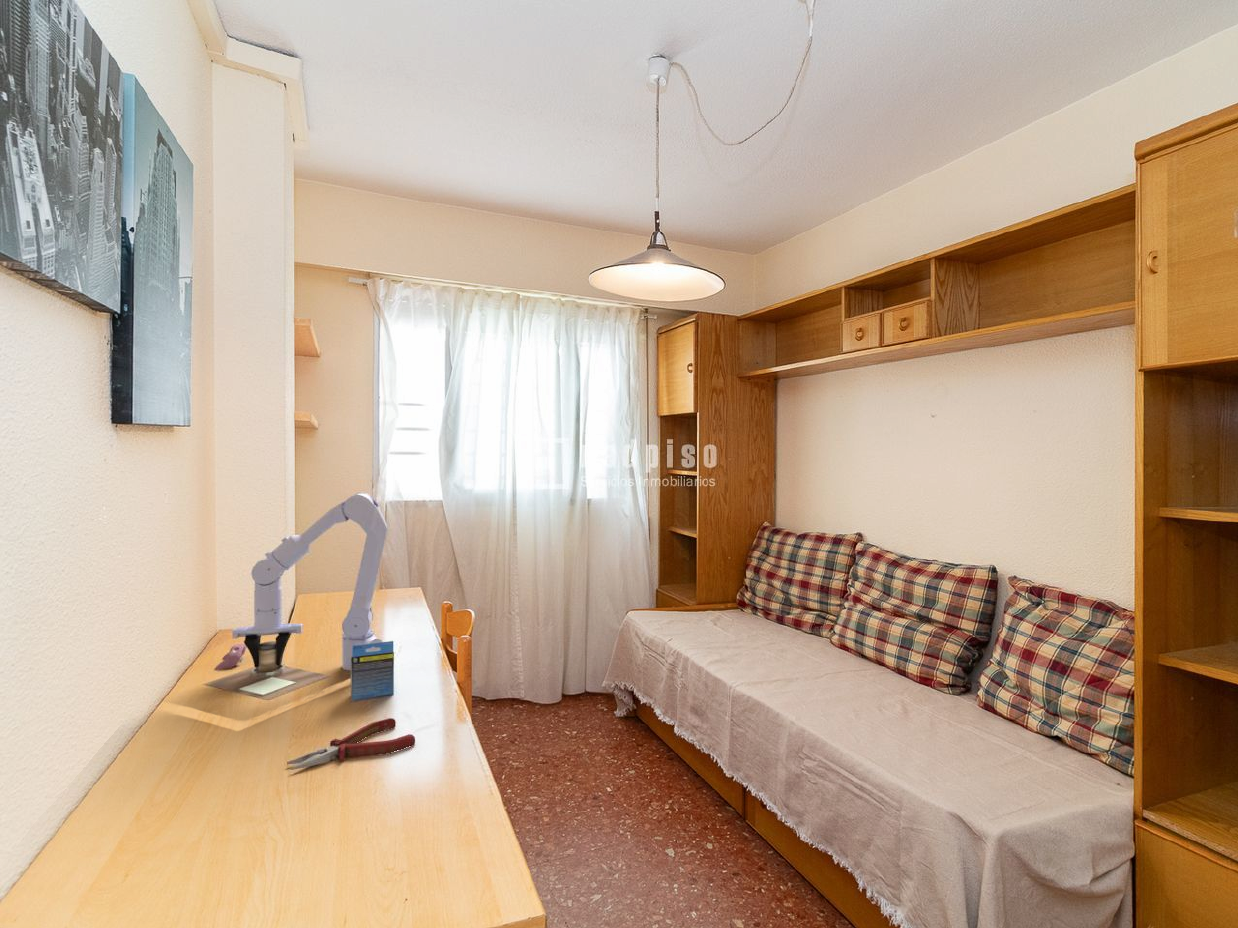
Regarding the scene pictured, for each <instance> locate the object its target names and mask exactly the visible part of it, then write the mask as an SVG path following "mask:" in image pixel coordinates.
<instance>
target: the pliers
mask: <svg viewBox="0 0 1238 928" xmlns="http://www.w3.org/2000/svg"><path fill="white" fill-rule="evenodd" d="M396 723H397V722H396V720H395V719H394V718H392V717H391V718H390V717H388V718H385V719H382V720H381V719H380V720H377V721H374V722H370V723H369V724H366V725H365V726H362V727H360V728H359V729H357V730H356V731H354V732H352V733H351V734H348V735H347V736H345V737H343V738H342V739H340V738H334V739H332V740H331V741H329V742H330V743H329V747H327V746H325V747H321V748H318V749H315V750H313V751H311V752H309V753H306V754H303V755H301V756H299V757H296V758H295V759H292V760H289V761H287V763H286V765H294V766H292V767H291V768H290V770H291V771H293V770H299V769H303V768H307V767H309V768H310V767H313V766H319V765H323V764H326V763H329V762H331V760H336V759H338V760H339V763H341V762H342V763H343V762H344V761H345V760H346V759H348V758H350V759H351V758H360V757H361V756H362V757H369V756H371V755H373V756H380V755H379V754H383V755H387V754H386V753H389V754H392V753H391V752H394V751H397V750H401V749H404V748H406V747H409V746H412V745H414V746H415V743H416V738H415V736H414V735H413V734H410V733H409V734H406V735H402V736H400V737H397V738H394V739H389V740H382V741H368V742H362V741H363V740H362V739H364V738H365V737H367V738H369V737H371V736H373V735H376V734H378V733H377V732H379V733H382V732H385V731H384V730H386V731H389V730H392V729H391V728H393V729H395V728H396V725H397V724H396ZM394 727H395V728H394ZM388 729H389V730H388ZM381 731H382V732H381ZM375 733H376V734H375ZM372 734H373V735H372ZM368 736H369V737H368ZM365 739H366V738H365ZM365 739H364V740H365ZM361 740H362V741H361ZM359 741H360V742H359ZM357 742H359V743H357ZM412 747H413V746H412ZM409 748H410V747H409ZM406 749H407V748H406ZM404 750H405V749H404ZM401 751H402V750H401ZM394 753H395V752H394Z"/></svg>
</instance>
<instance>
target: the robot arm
mask: <svg viewBox="0 0 1238 928" xmlns="http://www.w3.org/2000/svg"><path fill="white" fill-rule="evenodd" d="M349 520H351V521H353V522H354V523H355V524H357V525H359V527H360V528H361V529H362V530H363V531H364V533H365V534H366V538H365V542H364V545H363V550H362V555H361V561H360V565H359V569H358V573H357V578H356V582H355V586H354V591H353V596H352V600H351V603H350V607H349V610H348V611H347V613H346V616H345V618H343V621H342V623H341V629H342V632H343V633H342V634H341V642H342V643H341V649H342V650H341V651H342V652H341V656H342V657H341V660H342V661H341V662H342V663H341V666H342V669H343V670H345V671H351V657H352V645H360V644H369V643H379V642H383V640H382V639H380V638H378V637H377V636H376V635H375V634H374V633H375V632H374V630H373V629H372V628H371V623H372V621H373V620H374V619H373V618H374V613H373V607H372V605H373V600H374V596H375V595H374V594H375V589H376V585H377V580H378V577H379V576H378V575H379V570H380V567H381V562H382V557H383V553H384V550H385V549H384V548H385V543H386V539H387V536H388V534H387V533H388V524H387V522H386V520H385V517H384V515H383V512H382V510H381V508H380V505H379V503H378V502H377V501H376V500H375V499H374V497H373V496H372V495H370V494H369V493H366V492H357V493H355V494H353V495H351V496H350V497H348V498H347V499H345V500H344V501H342V502H340V503H339V504H337V505H336V506H333V507H332V508H331V509H329V510H328V511H327V512H326V513H324V515H322V516H321V517H320V518H319V519H317V521H315V522H314V523H313V524H312V525H311V526H309V527H308V528H307V529H305V530H304V532H302V533H301V534H292V535H289V536H285V537H284V538H283V539H281V542H282V543H280V544H279V545H277V547H275V548H274V549H273V550H272V551H267V553H265V554H264V555H265V558H262V559H261V560H258V561H257V562H256V564H254V566H252V569H251V573H250V574H251V578H252V580H254V595H253V597H254V598H253V599H254V601H253V603H254V604H253V605H254V606H253V608H254V610H253V611H254V612H253V615H254V617H253V618H254V621H253V622H254V625H250V626H243V627H235V628H234V629H232V632H231V633H232V639H238V638H243V637H244V640H243V643H244V644H245V645H246V647H247V648H246V649H248V652H249V653H250V655H251V658H252V661H253V665H254V666H253V667H255V668H256V667H259V644H261V638H262V637H263V636H273V635H276V637H275V642H276V647H277V659H276V665H277V666H279V665H281V664H283V657H284V652H285V649H286V647H287V644H288V642H289V640H290V638H291V636H292V634H296V635H297V634H302V633H303V628H304V627H303V625H304V624H303V623H283V602H282V601H283V599H282V597H283V589H282V576H283V575H284V573H285V571H288V570H289V569H291V568H292V567H293V566H294V565H295V564H297V563H298V562H299V561H301V560H302V559H303V558H305V556H306V555H308V554H309V553H310V549H311V544H312V543H314V541H316V540H317V539H318V538H320V537H321V536H322V535H323V534H324V533H326V532H328V530H329V529H331V528H333V527H334V526H335V525H336V524H340V523H345V522H347V521H349ZM379 650H380V648H374V647H372V648H371V649H366V652H371V651H379Z"/></svg>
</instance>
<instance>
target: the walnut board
mask: <svg viewBox="0 0 1238 928" xmlns="http://www.w3.org/2000/svg"><path fill="white" fill-rule="evenodd" d="M254 667H255V666H253V667H251V668H248V669H245V670H241V671H239V672H235V673H233V674H229V675H227V676H223V677H219V678H217V679H214V680H210V681H208V682H205V683H203V684H202V685H203V686H208V687H212V688H216V689H219V690H220V689H221V690H224V691H228V692H232V693H237V694H241V695H245V696H249V697H253V698H257V699H260V700H261V699H262V700H265V701H270V700H272V699H275V698H278V697H281V696H283V695H285V694H288V693H291V692H293V691H296V690H299V689H300V688H304V687H306V686H310V685H311V684H313V683H316V682H317V683H318V682H319V681H322V680H324V679H327V678H329V677H331V676H332V675H331V674H326V673H320V672H316V671H311V670H307V669H306V670H305V669H301V668H297V667H291V666H286V665H285V672H284V673H283V674H281V675H278V676H275V677H274V678H279V679H283V680H288V681H292V682H296V684H294V685H291V686H289V687H286V688H283V689H281V690H278V691H276V692H273V693H270V694H268V695H265V696H261V695H256V694H252V693H248V692H244V691H240V690H239V689H240V688H243V687H246V686H248V685H251V684H254V683H257V682H260V681H263V680H265V679H268V678H258V679H257V678H253V677H252V676H251V670H252V669H253V668H254ZM270 678H271V677H270Z"/></svg>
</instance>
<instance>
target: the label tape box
mask: <svg viewBox="0 0 1238 928" xmlns="http://www.w3.org/2000/svg"><path fill="white" fill-rule="evenodd" d="M372 647H374V648H380V650H379V651H371V652H366V649H371V648H372ZM394 675H395V651H394V640H389V641H382V642H379V643H369V644H360V645H352V657H351V670H350V700H351V701H352V702H353V701H361V700H367V699H373V698H377V697H378V698H379V697H384V696H385V697H386V696H390V695H394V692H395V684H394V683H395V676H394Z"/></svg>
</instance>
